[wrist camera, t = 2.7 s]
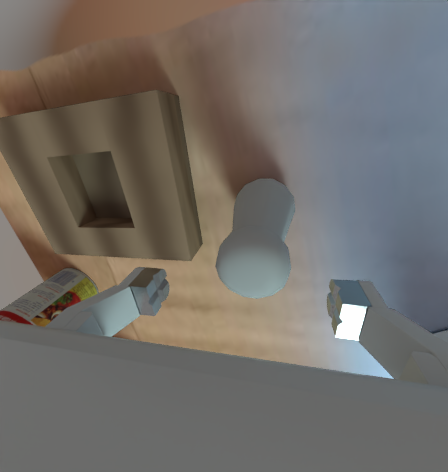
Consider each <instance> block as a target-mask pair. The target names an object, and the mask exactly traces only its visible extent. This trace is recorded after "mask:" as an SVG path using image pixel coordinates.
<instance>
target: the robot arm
mask: <svg viewBox="0 0 448 472" xmlns="http://www.w3.org/2000/svg"><path fill="white" fill-rule="evenodd" d="M166 276H167V275H166V272H165V270H164V269H157V268H145V267H137V268H135V269H134V270H133V271H132V272H131V273H130V274H129V275H128V276H127V277H126V278H125V279H124V280H123V281H122V282H121V283H120V284H119V285H118V286H113V287H111V288H109V289H107V290H105V291H103V292H100V293H98V294H96V295H94V296H92V297H90V298H87V299H85V300H83V301H81V302H79V303H77V304H74V305H72V306H70V307H68V308H66V309H65V310H64V311H63V312H61V313H60V314H59V315H58V316H57V317H56V318H54V319H53V320H52V321H51V322H50V323H49V324H48V325H46V326H45V327H42V326H36V325H29V324H22V323H15V322H9V321H2V320H0V472H448V330H446V331H442V332H438V333H434V334H432V333H431V332H429V331H428V330H426V329H424V328H423V327H421V326H420V325H418V324H416V323H415V322H413V321H412V320H410V319H408V318H407V317H405V316H404V315H402V314H400V313H399V312H397V311H396V310H394V309H389V308H388V306H387V305H386V303H385V302H384V300H383V299H382V297H381V296H380V294H379V293H378V291H377V289H376V288H375V286H374V285H373V283H372V282H371V281H363V280H356V281H353V280H335V279H331V281H330V285H329V288H330V291H331V292H330V293H329V294H328V296H327V309H328V313H329V316H330V317H331V318H332V327H333V330H334V334H335V337H338V338H345V339H352V340H359V343H360V344H361V345H362V346H363V347H364V348H365V349H366V350H367V351H368V352H369V353H370V354H371V355H372V356H373V357H374V358H375V359H376V360H377V361H378V362H379V363H380V364H381V365H382V366H383V368H384V369H385V370H386V371H387V372H388V373H389V374H390V375H391V376H392V377H393V378H394V379H389V378H383V377H376V376H369V375H363V374H356V373H349V372H343V371H336V370H329V369H322V368H316V367H309V366H302V365H296V364H289V363H283V362H276V361H269V360H263V359H256V358H249V357H243V356H236V355H229V354H223V353H216V352H209V351H203V350H196V349H189V348H183V347H176V346H169V345H162V344H156V343H149V342H142V341H136V340H129V339H122V338H116V337H112V336H113V335H115V334H116V333H117V332H119V331H120V330H121V329H123V328H124V327H125V326H127V325H128V324H129V323H131V322H132V321H133V320H135V319H136V318H137V317H139V316H140V315H150V316H155V315H156V314H157V312H158V311H159V309H160V308H161V302H163V301H164V300H166V298H167V296H168V294H169V283H168V281H167V280H166V279H165V278H166Z"/></svg>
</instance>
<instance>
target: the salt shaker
mask: <svg viewBox="0 0 448 472" xmlns="http://www.w3.org/2000/svg"><path fill="white" fill-rule="evenodd" d="M294 212H295V204H294V197H293V195H292V194H291V193H290V191H289V190H288V188H287V187H286V186H285V185H283V184H282V183H280V182H278V181H276V180H274V179H257V180H255V181H253V182H250V183H248V184H246V185H245V186H244V187H243V188H242V189H241V191H240V192H239V193H238V195H237V197H236V201H235V205H234V215H233V230H232V232H231V233H230V235H229V236H228V237H227V238H226V239H225V240H224V241H223V243H222V244H221V246H220V247H219V252H218V256H217V261H216V269H217V272H218V275H219V278H220V280H221V281H222V282H223V283H224V284H225V285H226V286H227V287H228V289H229V290H231V291H233V292H235V293H237V294H239V295H241V296H243V297H249V298H256V299H258V298H262V297H267V296H271V295H274V294H275V293H276V292H278V291H279V290H281V289H282V288H283V287H284V286H285V283H286V281H287V279H288V276H289V274H290V270H291V265H290V257H289V250H288V247H287V246H286V245H285V243H284V240H285V237H286V234H287V232H288V229H289V226H290V223H291V220H292V218H293V215H294Z"/></svg>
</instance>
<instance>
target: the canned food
mask: <svg viewBox="0 0 448 472" xmlns="http://www.w3.org/2000/svg"><path fill="white" fill-rule="evenodd" d="M96 294H98V289H97V287H96V285H95V284H94V282H93V281H92V280H91V279H90V278H89V277H88V276H87V275H86V274H84V273H83V272H81V271H79V270H77V269H73V268H65V269H63V270H61V271H60V272H58V273H57V274H55V275H54V276H52V277H51V278H49V279H47V280H46V281H44V282H43V283H41V284H40V285H38V286H37V287H36V288H34V289H32V290H31V291H29V292H28V293H26V294H25V295H23V296H22V297H20V298H19V299H17V300H15V301H14V302H12V303H11V304H9V305H8V306H6V307H5V308H3V309H2V310H0V320H2V321H9V322H15V323H22V324H29V325H36V326H42V327H45V326H46V325H48V324H49V323H50V322H51V321H52V320H53V319H54V318H56V317H57V316H58V315H59V314H60V313H61V312H63V311H64V310H65V309H66V308H68V307H70V306H72V305H74V304H77V303H79V302H81V301H83V300H85V299H87V298H90V297H92V296H94V295H96Z"/></svg>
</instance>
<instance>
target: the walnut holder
mask: <svg viewBox="0 0 448 472" xmlns="http://www.w3.org/2000/svg"><path fill="white" fill-rule="evenodd" d="M0 151H1V153H2V155H3V156H4V158H5V160H6V162H7V164H8V166H9V168H10V169H11V171H12V173H13V175H14V177H15V179H16V181H17V183H18V184H19V186H20V188H21V190H22V192H23V194H24V196H25V197H26V199H27V201H28V203H29V205H30V207H31V209H32V211H33V212H34V214H35V216H36V218H37V220H38V222H39V224H40V225H41V227H42V229H43V231H44V233H45V235H46V237H47V239H48V240H49V242H50V244H51V246H52V248H53V250H54V252H55V253H56V254H71V255H90V256H108V257H126V258H145V259H163V260H182V261H191V260H192V259H193V257H194V256H195V254H196V253H197V251H198V250H199V248H200V247H201V245H202V244H203V243H202V237H201V231H200V225H199V219H198V213H197V206H196V200H195V194H194V188H193V182H192V176H191V170H190V164H189V158H188V152H187V146H186V140H185V134H184V127H183V121H182V115H181V109H180V103H179V97H178V96H176V95H173V94H170V93H166V92H163V91H159V90H152V91H147V92H141V93H136V94H130V95H124V96H119V97H113V98H108V99H102V100H97V101H91V102H86V103H80V104H74V105H69V106H63V107H58V108H52V109H47V110H41V111H35V112H30V113H24V114H19V115H13V116H8V117H2V118H0Z"/></svg>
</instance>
